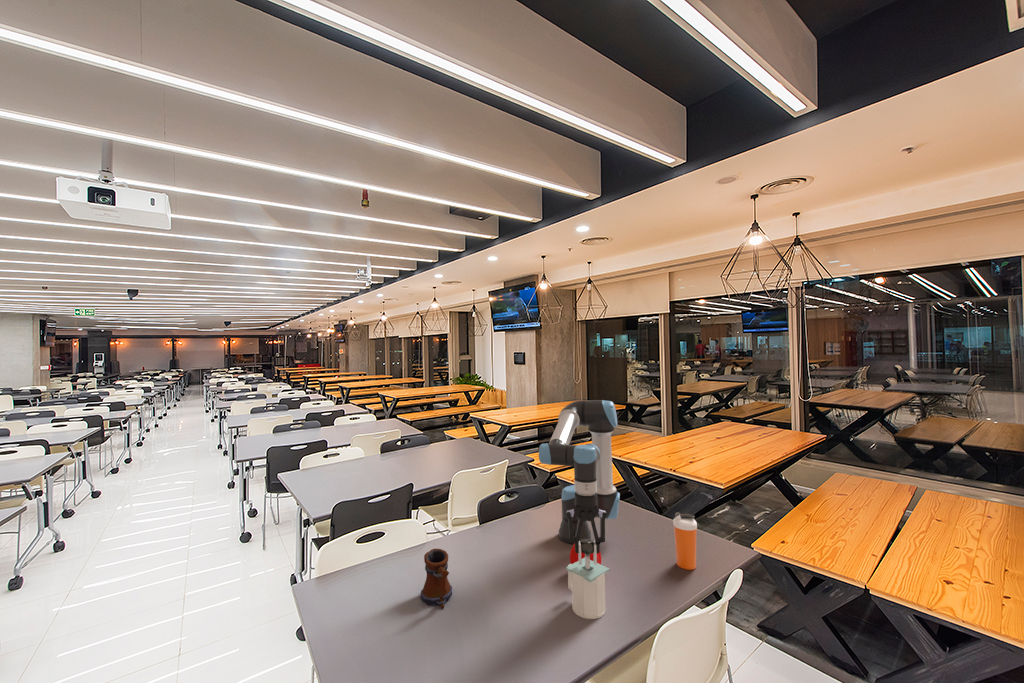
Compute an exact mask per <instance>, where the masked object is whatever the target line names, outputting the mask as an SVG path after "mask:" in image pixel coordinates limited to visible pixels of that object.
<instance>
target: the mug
mask: <svg viewBox="0 0 1024 683" xmlns="http://www.w3.org/2000/svg"><path fill="white" fill-rule="evenodd" d="M423 559H424V561H423V562H424V565H425V567H424V570H425V572H426V578H425V581H424V584H423V588H422V589H421V591H420V600H421V601H422V602H423V604H424V605H427V606H440V608H441V609H445V604H446V603H447V602H449V601H450V599H451V598H452V596H453V586H452V585H451V584H450V582H449V578H448V576H449V574H450V572H449V571H448V567H449V566H448V562H449V553H447V551H446V550H445V549H442V548H432V549H430V550H429V551H427V552H426V553H425V554H424V557H423Z"/></svg>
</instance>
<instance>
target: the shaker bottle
mask: <svg viewBox="0 0 1024 683" xmlns="http://www.w3.org/2000/svg"><path fill="white" fill-rule="evenodd" d="M674 515H675V517H674V518H673V520H672V523H673V524H672V525H673V531H674V533H673V534H674V541H675V542H674V545H675V555H676V565H677V566H678V567H679V568H681V569H683V570H688V571H692V570H694V569H696V567H697V529H698V522H697V521H696V519H695V515H694V514H691V513H680V512H679V511H678V512H676V513H675V514H674Z"/></svg>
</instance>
